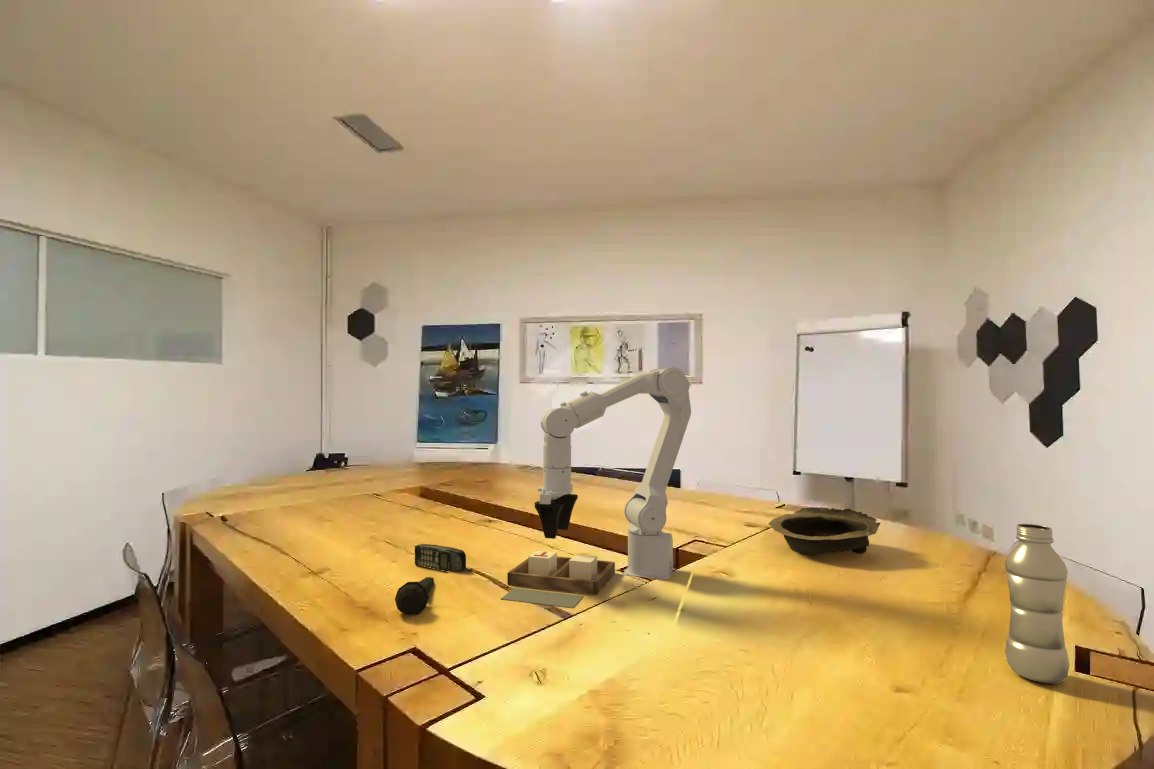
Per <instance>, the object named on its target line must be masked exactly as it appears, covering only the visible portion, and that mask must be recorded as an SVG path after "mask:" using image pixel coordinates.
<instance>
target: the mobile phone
mask: <svg viewBox="0 0 1154 769" xmlns="http://www.w3.org/2000/svg"><path fill="white" fill-rule="evenodd" d="M414 565H416V566H417V565H420V566H419V567H421V566H425V567H424V568H426V567H431V568H435V569H434V570H436V569H439V570H438V571H440V570H444V571H449V572H448V573H450V572H455V573H456V572H470V573H471V572H473V569H470V568H467V555H466V553H465V551H464V550H462V549H459V548H455V547H451V546H444V545H438V544H427V543H421V544H417V545H415V546H414ZM431 568H430V569H431ZM444 571H443V572H444Z"/></svg>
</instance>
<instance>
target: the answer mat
mask: <svg viewBox="0 0 1154 769" xmlns="http://www.w3.org/2000/svg"><path fill="white" fill-rule="evenodd" d="M584 597H585V596H584V595H581V594H580V595H579V594H572V593H562V592H554V591H545V590H535V589H527V588H521V587H514V588H512V589H511V590H510V591H509V592H508V593H506V594H505V595H504V596H502V597H501V598H500V600H503V601H509V602H510V601H511V602H519V603H526V604H534V605H543V606H549V607H559V608H567V609H575V608H576V606H577V605H578V604H579V602H581V600H582V599H583V598H584Z"/></svg>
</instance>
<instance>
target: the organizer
mask: <svg viewBox="0 0 1154 769" xmlns="http://www.w3.org/2000/svg"><path fill="white" fill-rule="evenodd" d="M571 558H572V557H568V556H558V555H557V571H556V572H555V573H554V574H552V575H551V576H545V575H536V574H528V558H526V559H525V560H524V561H522V562H520V563H519V564H518V565H516V566H515V567H514V568H512V569H511V570H509V571H508V572H507V574H506V575H507V576H506V577H507V578H506V579H507V581H506V583H507V586H514V587H520V588H521V587H523V588H530V589H531V588H532V589H538V590H539V589H540V590H550V591H559V592H567V593H574V594H583V595H590V596H591V595H592V596H598V595H599V593H600V592H601V591H602V590H603V588H604V587H605V586H607V583H608V582H609V581H610V580H611V579H612V577H613V576H614V575H615V573H616V566H615V565H616V562H615V561H612V560H611V561H610V560H600V559H599V560H598V559H597V578H596V579H595V580H594V581H592V580H583V579H573V578H569V560H570V559H571Z"/></svg>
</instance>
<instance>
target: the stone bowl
mask: <svg viewBox="0 0 1154 769" xmlns="http://www.w3.org/2000/svg"><path fill="white" fill-rule="evenodd" d="M877 521H878V519H877V518H875V517H872V516H870V515H868V514H867V513H862V511H856V510H853V509H851V508H844V509H841V508H840V509H839V508H838V509H836V508H833V507H831V508H829V507H817V506H816V507H813V506H810V507H803V508H802V507H801V508H800V510H796V511H794V513H784V514H783V515H780V516H778V517H774V518H773V519H772V520H769V522H768V525H769V526H770V527H771V528H772V529H773V531H775V532H777V533H779V534H781V535H782V536H783V538H784V540H785V541H786V543H787V545H788V547H789V548H790V550H792V551H795V552H797V553H799V554H801V555H805V556H807V555H809V554H811V555H823V554H824V555H825V554H832V553H843V552H849V551H850V552H852V553H855V554H864V553H866V552H867V549H868V547H869V544H870V540H869V536H873V535H876V534H877V531H878V530H879V527H880V525H881V522H877Z"/></svg>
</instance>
